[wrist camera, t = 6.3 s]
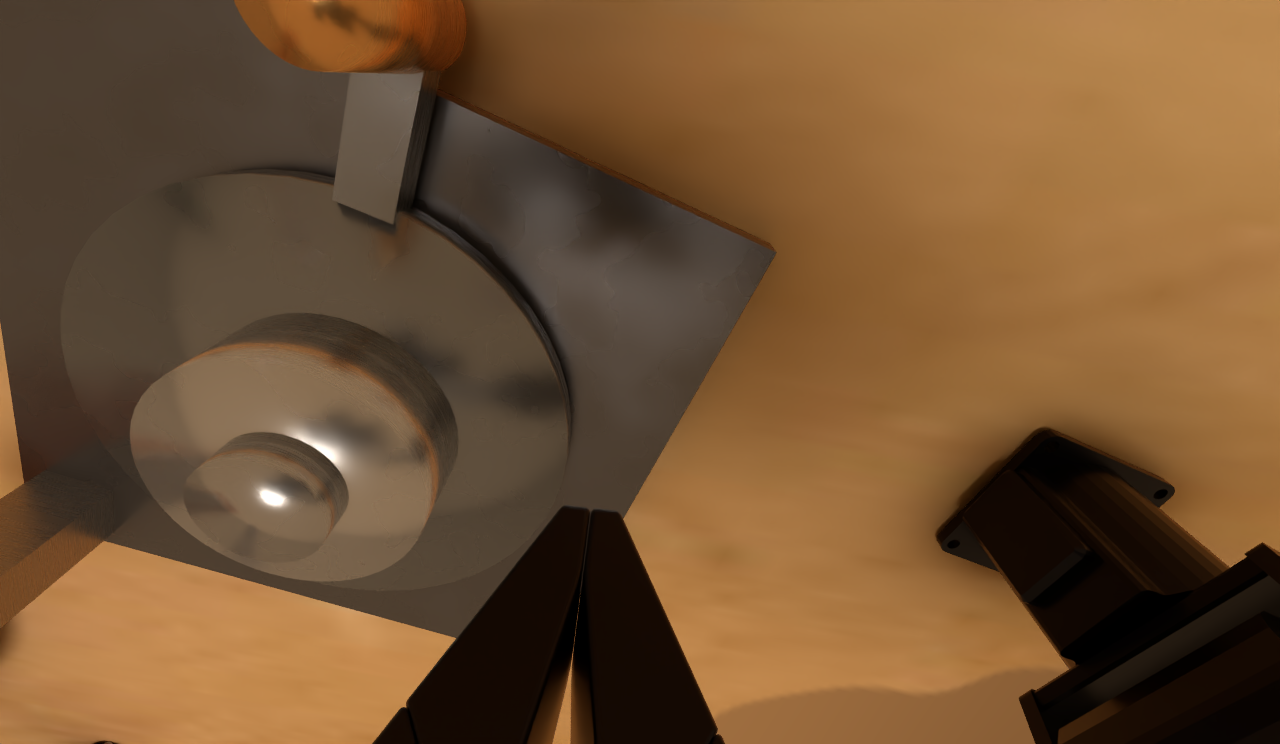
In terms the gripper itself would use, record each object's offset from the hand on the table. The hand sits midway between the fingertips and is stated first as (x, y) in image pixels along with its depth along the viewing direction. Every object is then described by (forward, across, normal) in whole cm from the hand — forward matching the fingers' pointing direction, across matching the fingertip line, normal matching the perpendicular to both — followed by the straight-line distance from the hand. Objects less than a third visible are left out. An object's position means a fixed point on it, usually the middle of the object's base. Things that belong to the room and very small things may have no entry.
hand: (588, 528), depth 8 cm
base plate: (+11, +9, +6) cm, 15 cm away
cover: (+9, +9, +6) cm, 14 cm away
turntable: (+10, +8, +3) cm, 13 cm away
